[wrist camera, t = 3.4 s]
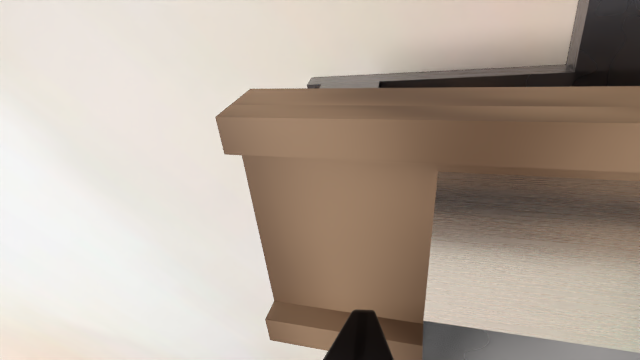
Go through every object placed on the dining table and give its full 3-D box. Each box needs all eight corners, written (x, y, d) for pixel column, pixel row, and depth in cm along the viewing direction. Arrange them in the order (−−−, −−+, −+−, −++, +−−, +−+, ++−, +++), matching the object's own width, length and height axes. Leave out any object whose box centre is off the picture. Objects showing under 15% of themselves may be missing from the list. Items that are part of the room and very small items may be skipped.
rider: (432, 307, 12) (418, 474, 9) (437, 172, 10) (423, 320, 6) (679, 342, 10) (794, 570, 7) (756, 186, 8) (994, 404, 5)
